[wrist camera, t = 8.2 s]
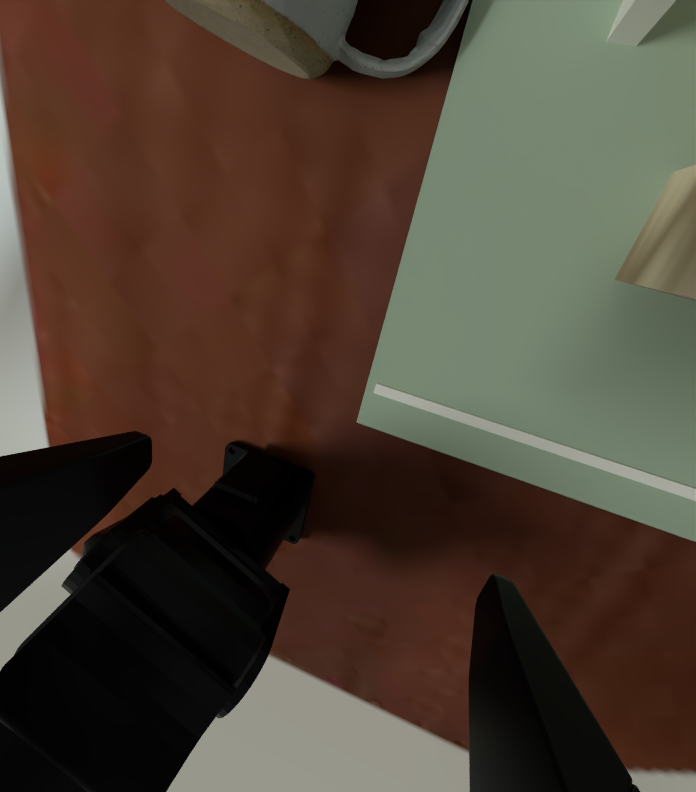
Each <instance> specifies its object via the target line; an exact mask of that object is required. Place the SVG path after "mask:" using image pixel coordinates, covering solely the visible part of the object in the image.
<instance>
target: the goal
mask: <svg viewBox="0 0 696 792" xmlns="http://www.w3.org/2000/svg"><path fill="white" fill-rule="evenodd" d="M675 1H676V0H623V2H622V4H621V6H620V9H619V11H618V14H617V16H616V19H615V21H614V24H613V26H612V28H611V31H610V33H609V36H608V38H607V41H606V42H610V43H616V44H623V45H630V46H637V45H638V44H639V42H640V41H641V40H642V39H643V38H644V37H645V36H646V34H647V33H648V32H649V31H650V30H651V29H652V27H653V26H654V25H655V24H656V23H657V22H658V21H659V19H660V18H661V17H662V16H663V15H664V14H665V13H666V11H667V10H668V9H669V8H670V7H671V6H672V4H673V3H674V2H675Z"/></svg>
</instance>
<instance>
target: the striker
mask: <svg viewBox="0 0 696 792" xmlns="http://www.w3.org/2000/svg"><path fill="white" fill-rule="evenodd" d="M614 280H618V281H622V282H625V283H629V284H633V285H637V286H640V287H644V288H648V289H652V290H655V291H659V292H663V293H667V294H670V295H674V296H678V297H682V298H685V299H689V300H693V301H696V165H693V166H690V167H687V168H684V169H681V170H678V171H675V172H673V173H672V175H671V177H670V179H669V181H668V183H667V184H666V186H665V188H664V190H663V192H662V194H661V195H660V197H659V199H658V201H657V203H656V205H655V206H654V208H653V210H652V212H651V214H650V215H649V217H648V219H647V221H646V223H645V225H644V226H643V228H642V230H641V232H640V234H639V236H638V237H637V239H636V241H635V243H634V245H633V247H632V248H631V250H630V252H629V254H628V256H627V257H626V259H625V261H624V263H623V265H622V267H621V268H620V270H619V272H618V274H617V276H616V278H615V279H614Z"/></svg>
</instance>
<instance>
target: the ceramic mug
mask: <svg viewBox="0 0 696 792" xmlns="http://www.w3.org/2000/svg"><path fill="white" fill-rule="evenodd" d="M165 1H166V2H167V3H168V4H170V5H171V6H172V7H174V8H175V9H176V10H178V11H179V12H180V13H182V14H183V15H185V16H186V17H188V18H189V19H191V20H192V21H194V22H195V23H197V24H198V25H200V26H202V27H203V28H205V29H206V30H208V31H210V32H211V33H213V34H215V35H216V36H218V37H220V38H221V39H223V40H225V41H227V42H228V43H230V44H232V45H234V46H235V47H237V48H239V49H241V50H242V51H244V52H246V53H248V54H250V55H252V56H253V57H255V58H257V59H259V60H261V61H263V62H265V63H267V64H269V65H271V66H273V67H275V68H277V69H280V70H282V71H284V72H287V73H289V74H292V75H294V76H297V77H300V78H305V79H314V78H316V77H318V76H321V75H323V74H324V73H325V72H326V71H327V70H328V69H329V67H330V66H331V64H332V62H333V61H336V60H339V61H340V62H342V63H343V64H345V65H346V66H348V67H349V68H351V69H352V70H354V71H356V72H358V73H361V74H365V75H370V76H373V77H378V78H396V77H401V76H404V75H407V74H409V73H411V72H413V71H415V70H416V69H418V68H419V67H421V66H422V65H423V64H424V63H426V62H427V61H428V60H429V59H431V58H432V57H433V56H434V55H435V54H436V53H437V52H438V51H439V50H440V49H441V48H442V46H443V45H444V44H445V43H446V41H447V40H448V38H449V36H450V35H451V33H452V32H453V30H454V29H455V27H456V26H457V24H458V22H459V20H460V18H461V16H462V14H463V12H464V10H465V8H466V6H467V4H468V1H469V0H443V2H442V4H441V6H440V8H439V10H438V12H437V14H436V16H435V18H434V19H433V21H432V22H431V24H430V25H429V27H428V28H427V29H425V30H424V31H422V32H421V33H420V35H419V37H418V40H417V43H416V47H415V48H414V49H413V50H412V51H411V52H410V54H409V55H408V56H406V57H402V58H396V59H389V60H382V59H380V58H377V57H374V56H371V55H368V54H365V53H362V52H360V51H359V50H358V49H356V48H354V47H351V46H350V45H349V44H348V43H347V42H346V41H345V36H346V32H347V29H348V27H349V24H350V21H351V20H352V18H353V16H354V12H355V8H356V5H357V2H358V0H165Z"/></svg>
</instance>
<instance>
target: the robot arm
mask: <svg viewBox="0 0 696 792" xmlns="http://www.w3.org/2000/svg"><path fill="white" fill-rule="evenodd" d="M232 448H233V449H234V450H235V451H234V450H233V449H232ZM151 463H152V440H151V438H150V437H149V436H148V435H146V434H143V433H140V432H137V431H132V432H127V433H122V434H117V435H111V436H106V437H101V438H96V439H90V440H85V441H80V442H74V443H69V444H64V445H59V446H53V447H48V448H43V449H38V450H32V451H27V452H22V453H17V454H11V455H7V456H1V457H0V612H1V611H2V610H3V609H4V608H5V607H6V606H8V605H9V604H10V603H11V602H12V601H13V600H14V599H15V598H16V597H17V596H19V595H20V594H21V593H22V592H23V591H24V590H25V589H26V588H27V587H28V586H30V585H31V584H32V583H33V582H34V581H35V580H36V579H37V578H38V577H39V576H41V575H42V574H43V573H44V572H45V571H46V570H47V569H48V568H49V567H50V566H51V565H53V564H54V563H55V562H56V561H57V560H58V559H59V558H60V557H61V556H62V555H63V554H65V553H66V552H67V551H68V550H69V549H70V548H71V547H72V546H73V545H75V544H76V543H77V542H78V541H79V540H80V539H81V538H82V537H83V536H84V535H85V534H87V533H88V532H89V531H90V530H91V529H92V528H93V527H94V526H95V525H96V524H98V523H99V522H100V521H101V520H102V519H103V518H104V517H105V516H106V515H107V514H108V513H109V512H110V511H111V510H112V509H113V508H114V507H115V506H116V504H117V503H118V502H119V501H120V500H121V499H122V498H123V497H124V496H125V495H126V494H127V492H128V491H129V490H130V489H131V488H132V487H133V486H134V485H135V484H136V483H137V482H138V480H139V479H140V478H141V477H142V476H143V475H144V474H145V473H146V472H147V470H148V469H149V468H150V466H151ZM304 476H306V477H308V479H306V478H305V477H304ZM313 483H314V474H313V473H312V472H311V471H309V470H307V469H304V468H302V467H299V466H297V465H294V464H291V463H289V462H286V461H284V460H281V459H278V458H276V457H273V456H271V455H268V454H265V453H263V452H260V451H258V450H255V449H252V448H250V447H247V446H244V445H242V444H239V443H237V442H230V443H229V444H228V445H227V446H226V448H225V457H224V468H223V475H222V476H221V477H220V478H219V479H218V480H217V481H216V482H215V484H214V485H213V486H212V487H211V488H210V489H209V490H208V491H207V492H206V493H205V494H204V495H203V496H202V497H201V498H200V499H199V500H198V501H197V502H196V503H195V504H194V505H192V506H191V505H190V504H189V503H188V502H187V501H186V500H185V499H183V498H182V497H181V494H180V493H179V492H178V491H177V490H176V489H175V488H173V489H172V490H171V491H169V492H168V493H166V494H165V495H164V496H163V495H162V494H161V495H159V496H158V497H156V498H153V497H151V498H150V499H149V500H148V501H146V502H145V503H144V504H143V505H142V506H140V507H139V508H138V509H137V510H135V511H134V512H133V513H131V514H130V515H129V516H127V517H125V518H124V519H122V520H120V521H118V522H116V523H114V524H112V525H110V526H108V527H107V528H105V529H103V530H101V531H99V532H97V533H95V534H94V535H92V536H91V537H90V538H89V539H88V540H87V541H86V542H85V543H84V544H83V551H82V558H81V559H80V561H79V562H78V563H77V564H76V566H75V567H74V570H73V571H72V572H71V574H70V575H69V576H68V577H67V578H66V580H65V581H64V582H63V584H62V587H63V588H64V589H65V590H67V591H68V592H69V593H70V594H71V595H70V596H69V597H68V598H67V599H66V600H65V601H64V602H63V603H62V604H61V605H60V606H59V607H58V608H57V609H56V610H55V611H54V612H53V613H52V614H51V615H50V616H49V617H48V618H47V619H46V620H45V621H44V622H43V623H42V624H41V625H40V626H39V627H38V628H37V629H36V630H35V631H34V632H33V633H32V634H31V635H30V636H29V637H28V638H27V639H26V640H25V641H24V642H23V643H22V644H21V645H20V647H19V648H18V649H17V651H16V653H15V655H14V656H13V657H12V658H11V659H10V660H9V661H8V662H7V663H6V664H5V665H4V666H3V668H2V669H1V671H0V792H166V791H167V789H168V788H169V786H170V784H171V783H172V781H173V780H174V778H175V777H176V775H177V773H178V772H179V770H180V769H181V767H182V766H183V764H184V762H185V761H186V759H187V757H188V756H189V754H190V753H191V751H192V750H193V748H194V747H195V745H196V744H197V742H198V741H199V739H200V738H201V736H202V735H203V733H204V732H205V731H206V729H207V728H208V727H209V725H210V724H211V723H212V721H213V720H214V719H215V717H218V718H223V717H224V716H225V715H227V714H228V713H229V712H230V711H231V710H232V709H233V708H234V707H235V706H236V705H237V704H238V703H239V702H240V700H241V699H242V698H243V697H244V695H245V694H246V693H247V691H248V690H249V688H250V687H251V685H252V684H253V682H254V681H255V679H256V678H257V676H258V674H259V672H260V671H261V669H262V667H263V665H264V663H265V661H266V659H267V657H268V655H269V652H270V649H271V647H272V644H273V640H274V637H275V634H276V631H277V628H278V625H279V622H280V619H281V616H282V612H283V609H284V606H285V603H286V600H287V597H288V594H289V591H290V589H289V588H288V587H287V586H285V585H284V584H283V583H279V582H278V581H277V580H276V579H275V578H274V577H273V576H271V575H270V574H269V573H268V572H267V571H266V570H265V569H266V568H267V566H268V564H269V563H270V561H271V559H272V558H273V556H274V554H275V553H276V551H277V550H278V548H279V546H280V545H281V543H282V541H283V540H285V541H288V542H290V543H293V544H296V543H298V541H299V539H300V537H301V534H302V530H303V525H304V521H305V517H306V513H307V508H308V504H309V500H310V496H311V491H312V487H313ZM293 536H294V537H293ZM469 756H470V759H469V760H470V761H469V762H470V792H640V791H639V789H638V788H637V787H636V785H634V784H632V778H631V776H630V775H629V773H628V771H627V770H626V768H625V766H624V765H623V763H622V761H621V760H620V758H619V756H618V755H617V753H616V751H615V750H614V748H613V747H612V745H611V743H610V742H609V740H608V738H607V737H606V735H605V733H604V732H603V730H602V728H601V727H600V725H599V723H598V722H597V720H596V718H595V717H594V715H593V713H592V712H591V710H590V709H589V707H588V705H587V704H586V702H585V700H584V699H583V697H582V695H581V694H580V692H579V690H578V689H577V687H576V685H575V684H574V682H573V680H572V679H571V677H570V675H569V674H568V672H567V670H566V669H565V667H564V666H563V664H562V662H561V661H560V659H559V657H558V656H557V654H556V652H555V651H554V649H553V647H552V646H551V644H550V642H549V641H548V639H547V637H546V636H545V634H544V632H543V631H542V629H541V627H540V626H539V624H538V623H537V621H536V619H535V618H534V616H533V614H532V613H531V611H530V609H529V608H528V606H527V604H526V603H525V601H524V599H523V598H522V596H521V594H520V593H519V591H518V589H517V588H516V586H515V585H514V583H513V582H512V581H511V580H509V579H507V578H505V577H502V576H500V575H497V574H492V575H491V576H490V577H489V579H488V581H487V582H486V584H485V586H484V587H483V589H482V591H481V592H480V594H479V596H478V598H477V602H476V607H475V617H474V627H473V638H472V648H471V659H470V670H469Z"/></svg>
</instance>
